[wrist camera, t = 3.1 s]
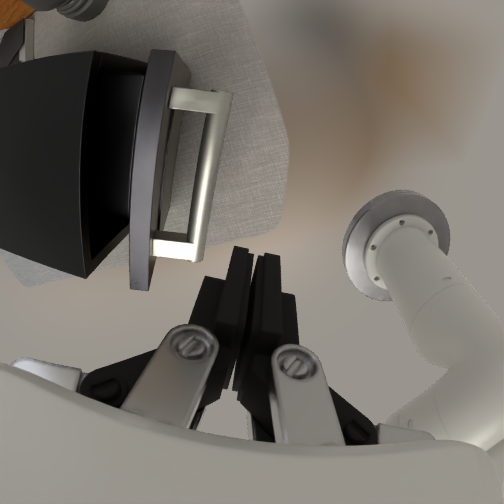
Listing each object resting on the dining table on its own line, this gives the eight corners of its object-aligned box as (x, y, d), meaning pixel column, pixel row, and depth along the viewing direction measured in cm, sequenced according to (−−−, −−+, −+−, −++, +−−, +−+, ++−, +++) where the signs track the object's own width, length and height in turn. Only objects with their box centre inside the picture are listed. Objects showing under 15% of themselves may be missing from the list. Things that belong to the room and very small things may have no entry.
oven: (176, 71, 29) (93, 50, 13) (156, 205, 37) (86, 279, 21) (64, 72, 28) (-33, 78, 12) (57, 186, 37) (-25, 237, 21)
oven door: (226, 77, 30) (244, 60, 15) (200, 212, 38) (200, 296, 23) (178, 71, 28) (151, 49, 13) (157, 207, 37) (129, 289, 22)
